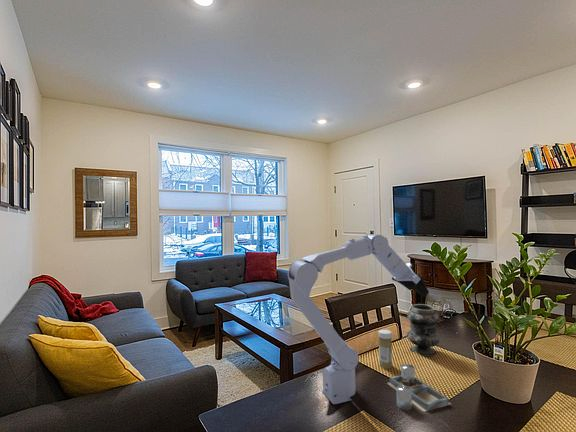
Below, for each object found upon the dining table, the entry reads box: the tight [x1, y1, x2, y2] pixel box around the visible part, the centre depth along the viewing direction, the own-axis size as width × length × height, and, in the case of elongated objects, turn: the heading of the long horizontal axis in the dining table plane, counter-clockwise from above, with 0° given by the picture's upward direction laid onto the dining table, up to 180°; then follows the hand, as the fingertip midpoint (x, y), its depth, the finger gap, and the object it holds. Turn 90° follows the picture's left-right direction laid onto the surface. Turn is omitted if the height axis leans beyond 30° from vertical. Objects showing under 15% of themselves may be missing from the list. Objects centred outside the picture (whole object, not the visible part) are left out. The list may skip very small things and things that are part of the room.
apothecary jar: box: [406, 303, 441, 358], centre depth 127 cm, size 12×12×18 cm
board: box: [386, 374, 452, 412], centre depth 95 cm, size 10×16×3 cm, turn 19°
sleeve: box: [395, 385, 413, 411], centre depth 89 cm, size 5×5×6 cm
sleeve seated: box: [400, 363, 416, 387], centre depth 99 cm, size 5×5×6 cm
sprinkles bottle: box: [378, 329, 393, 370], centre depth 113 cm, size 5×5×13 cm
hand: (419, 291), depth 104 cm, fingers open, 7 cm apart
